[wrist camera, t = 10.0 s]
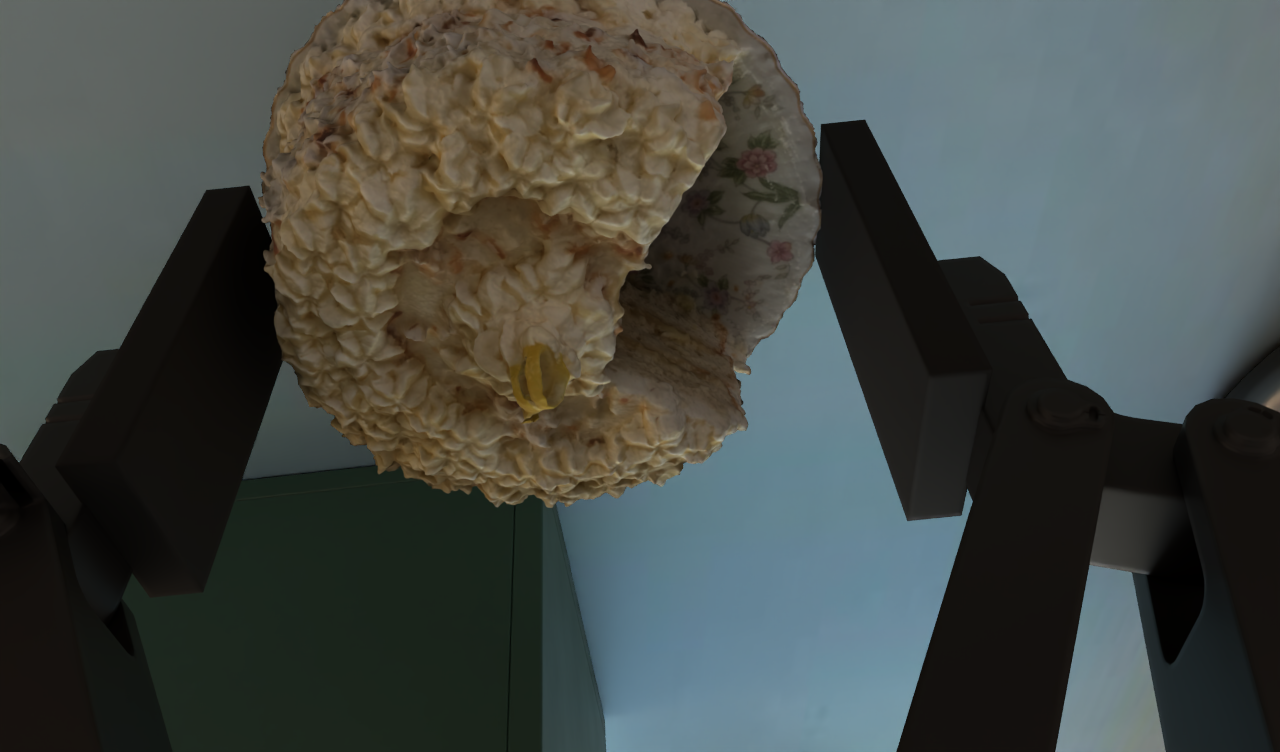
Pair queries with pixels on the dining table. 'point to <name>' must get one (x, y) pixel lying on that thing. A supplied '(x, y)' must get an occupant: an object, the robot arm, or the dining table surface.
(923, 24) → the dining table surface
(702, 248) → the cake
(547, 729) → the bin
